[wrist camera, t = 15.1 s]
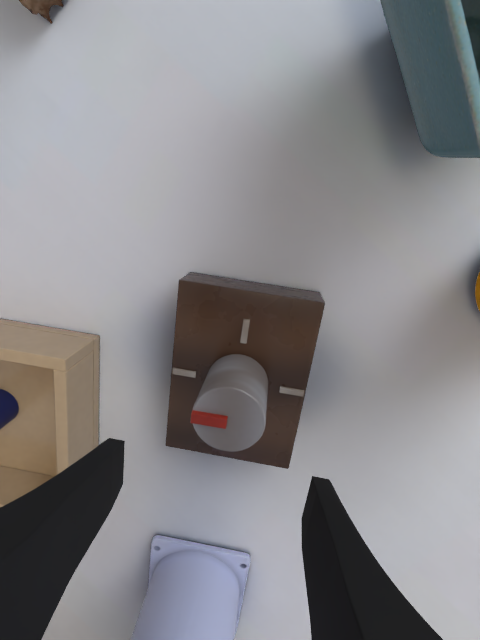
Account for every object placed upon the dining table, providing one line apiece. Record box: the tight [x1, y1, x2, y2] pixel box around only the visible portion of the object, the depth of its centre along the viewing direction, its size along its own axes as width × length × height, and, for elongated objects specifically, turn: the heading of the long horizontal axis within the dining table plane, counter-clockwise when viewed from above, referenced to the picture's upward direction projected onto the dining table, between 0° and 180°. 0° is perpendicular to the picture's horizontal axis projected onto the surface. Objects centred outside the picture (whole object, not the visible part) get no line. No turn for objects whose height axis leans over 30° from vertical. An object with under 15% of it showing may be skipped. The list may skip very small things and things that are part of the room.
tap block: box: [166, 272, 325, 469], centre depth 22 cm, size 11×8×3 cm
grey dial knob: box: [190, 354, 268, 452], centre depth 19 cm, size 4×4×4 cm
